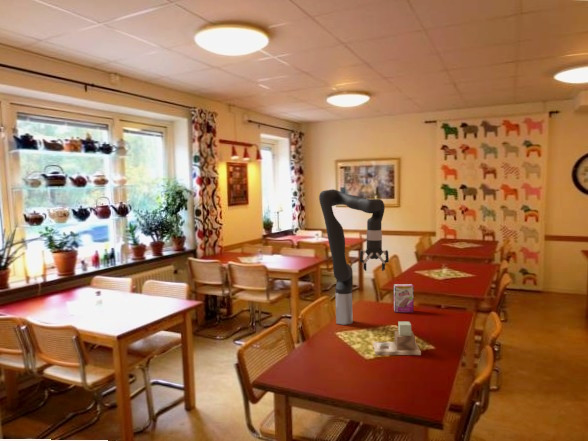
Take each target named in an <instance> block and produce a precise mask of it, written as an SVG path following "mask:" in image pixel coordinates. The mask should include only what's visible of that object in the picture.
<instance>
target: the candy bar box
mask: <svg viewBox="0 0 588 441" xmlns="http://www.w3.org/2000/svg"><path fill="white" fill-rule="evenodd" d="M414 290H415V289H414V285H413V284H412V283H409V284H408V283H406V284H405V283H403V284H401V283H400V284H399V283H397V284H395V283H394V284H393V311H394V313H405V314H406V313H414V302H415V301H414V299H415V298H414Z"/></svg>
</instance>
